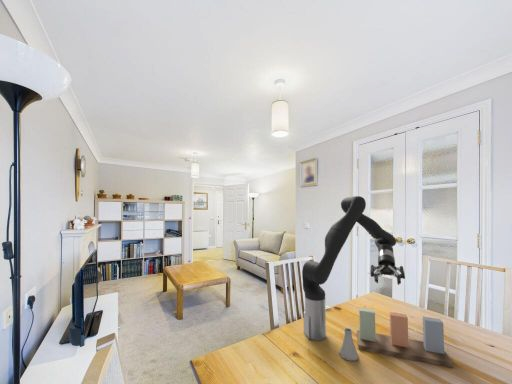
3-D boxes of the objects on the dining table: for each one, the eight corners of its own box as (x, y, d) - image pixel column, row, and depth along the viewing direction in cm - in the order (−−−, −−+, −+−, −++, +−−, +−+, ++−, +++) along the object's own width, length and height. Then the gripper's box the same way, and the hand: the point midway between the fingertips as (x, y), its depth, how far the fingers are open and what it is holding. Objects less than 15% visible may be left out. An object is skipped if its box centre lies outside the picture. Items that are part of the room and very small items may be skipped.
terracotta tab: (391, 344, 97) (390, 315, 98) (390, 340, 100) (389, 312, 101) (408, 347, 95) (407, 317, 96) (406, 343, 98) (405, 314, 99)
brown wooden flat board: (358, 349, 98) (358, 344, 98) (356, 334, 109) (356, 330, 109) (452, 367, 87) (452, 362, 87) (440, 348, 98) (440, 344, 98)
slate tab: (426, 350, 93) (425, 320, 94) (423, 346, 96) (422, 316, 97) (444, 354, 91) (443, 322, 92) (441, 349, 94) (440, 319, 95)
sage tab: (360, 338, 102) (359, 310, 102) (359, 335, 104) (359, 307, 105) (375, 341, 100) (374, 312, 100) (374, 337, 102) (374, 309, 103)
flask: (357, 351, 96) (357, 326, 97) (359, 363, 89) (358, 336, 90) (339, 348, 98) (338, 323, 99) (339, 359, 92) (338, 333, 92)
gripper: (369, 253, 123) (369, 274, 109) (401, 254, 116) (405, 276, 102) (371, 265, 125) (371, 287, 111) (403, 266, 118) (406, 290, 104)
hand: (387, 282), depth 107 cm, fingers open, 8 cm apart
